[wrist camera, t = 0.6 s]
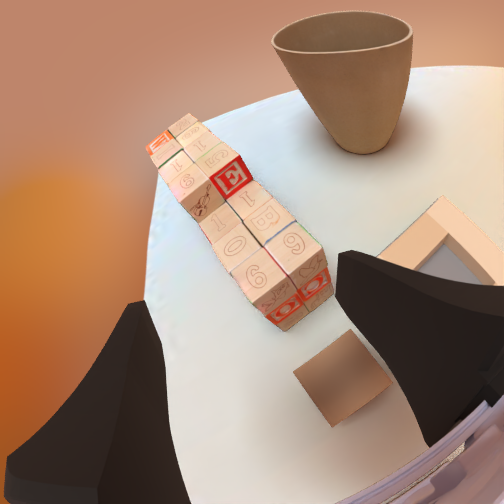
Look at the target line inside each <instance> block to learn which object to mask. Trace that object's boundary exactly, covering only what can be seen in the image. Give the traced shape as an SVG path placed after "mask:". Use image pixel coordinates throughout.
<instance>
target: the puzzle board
mask: <svg viewBox="0 0 504 504" xmlns="http://www.w3.org/2000/svg"><path fill="white" fill-rule="evenodd" d="M376 257H377V258H380V259H383V260H386V261H388V262H391V263H394V264H397V265H400V266H403V267H406V268H409V269H412V270H415V271H418V272H421V273H425V274H428V275H432V276H435V277H440V278H444V279H448V280H453V281H458V282H465V283H472V284H480V285H495V286H504V253H503V252H502V251H501V249H500V248H499V247H498V246H497V245H496V244H495V243H494V242H493V241H492V240H491V239H490V238H489V237H488V236H487V235H486V234H485V233H484V232H483V231H482V230H481V229H480V228H479V227H478V226H477V225H476V224H475V223H474V222H473V221H472V220H471V219H469V218H468V217H467V216H466V215H465V214H464V213H463V212H462V211H461V210H460V209H458V208H457V207H456V206H455V205H454V204H453V203H452V202H450V201H449V200H448V199H447V198H446V197H444V196H443V195H442V196H441V197H440V198H439V199H437V200H436V201H435V202H434V203H433V204H432V205H431V206H430V207H429V208H428V209H427V210H426V211H425V212H424V213H423V214H422V215H421V216H420V217H419V218H418V219H417V220H415V221H414V222H413V223H412V224H411V225H410V226H409V227H408V228H407V229H406V230H405V231H404V232H403V233H402V234H401V235H400V236H398V237H397V238H396V239H395V240H394V241H393V242H392V243H391V244H390V245H389V246H387V247H386V248H385V249H384V250H383V251H382V252H381V253H380V254H378V255H377V256H376Z"/></svg>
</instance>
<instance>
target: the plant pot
mask: <svg viewBox="0 0 504 504" xmlns="http://www.w3.org/2000/svg"><path fill="white" fill-rule="evenodd" d="M271 43H272V45H273V47H274V49H275V50H276V52H277V54H278V55H279V57H280V58H281V60H282V62H283V63H284V65H285V67H286V69H287V70H288V72H289V74H290V76H291V77H292V79H293V80H294V82H295V84H296V85H297V87H298V88H299V90H300V92H301V93H302V95H303V96H304V98H305V99H306V101H307V102H308V104H309V105H310V107H311V108H312V110H313V111H314V113H315V114H316V115H317V117H318V118H319V120H320V121H321V122H322V124H323V125H324V126H325V128H326V129H327V130H328V132H329V133H330V134H331V136H332V137H333V138H334V139H335V141H336V142H337V143H338V144H339V145H340V146H341V147H342V148H343V149H345V150H347V151H349V152H353V153H358V154H368V153H373V152H376V151H378V150H380V149H382V148H383V147H385V145H386V144H387V143H388V141H389V139H390V137H391V135H392V132H393V130H394V128H395V126H396V123H397V121H398V118H399V115H400V112H401V109H402V106H403V103H404V99H405V95H406V91H407V86H408V81H409V75H410V68H411V59H412V44H413V29H412V27H411V26H410V25H409V24H408V23H406V22H405V21H403V20H401V19H399V18H396V17H394V16H391V15H386V14H382V13H377V12H369V11H340V12H331V13H325V14H319V15H315V16H310V17H307V18H304V19H301V20H298V21H295V22H293V23H291V24H289V25H287V26H285V27H283V28H282V29H280V30H279V31H278V32H277V33H275V35H274V36H273V37H272V40H271Z"/></svg>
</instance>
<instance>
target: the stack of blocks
mask: <svg viewBox="0 0 504 504" xmlns="http://www.w3.org/2000/svg"><path fill="white" fill-rule="evenodd" d="M146 149H147V151H148V153H149V155H150V156H151V159H152V160H153V162H154V164H155V165H156V166H157V168H158V169H159V170H158V171H159V173H160V175H161V176H162V178H163V180H164V181H165V183H166V184H167V185H168V187H169V188H170V190H171V191H172V193H173V194H174V196H175V198H176V199H177V201H178V202H179V203H180V204H181V205H182V206H183V207H184V209H185V210H186V211H187V212H188V213H189V214H190V215H191V216H192V217H193V218H194V220H195V221H196V222H197V223H198V224H199V226H200V227H201V229H202V231H203V232H204V234H205V235H206V237H207V238H208V240H209V242H210V243H211V245H212V248H213V250H214V252H215V253H216V255H217V256H218V258H219V260H220V261H221V263H222V264H223V266H224V267H225V269H226V270H227V272H228V273H229V274H230V275H231V276H232V277H233V278H234V279H235V281H236V282H237V284H238V285H239V287H240V288H241V290H242V291H243V293H244V294H245V296H246V297H247V299H248V300H249V302H250V303H251V304H252V305H253V306H255V307H256V308H257V309H258V310H260V311H261V312H262V313H263V315H264V316H265V317H266V318H267V319H268V320H269V321H271V322H272V323H273V324H275V325H276V326H277V327H279V328H280V329H282V330H283V331H284V332H285V331H286V330H288V329H289V328H290V327H292V326H293V325H294V324H295V323H297V322H298V321H299V320H301V319H302V318H303V317H305V316H306V315H307V314H308V313H309V312H311V311H313V310H314V309H315V308H317V307H318V306H319V305H320V304H322V303H323V302H324V301H325V300H327V299H328V298H329V297H330V296H331V295H332V294H333V293H334V290H333V286H332V283H331V278H330V275H329V271H328V268H327V265H328V263H327V260H326V256H325V253H324V250H323V247H322V246H321V245H320V244H319V243H318V242H317V241H316V240H315V239H314V238H313V237H312V236H311V235H310V234H309V233H308V232H307V231H306V230H305V229H304V228H303V227H302V226H301V225H300V224H299V223H298V222H297V221H296V219H295V218H294V217H293V216H292V215H291V214H290V213H289V212H288V211H287V210H286V209H285V208H284V207H283V206H282V205H281V204H280V203H278V202H277V201H276V200H275V199H274V198H273V197H272V196H271V194H269V193H268V192H267V191H266V190H265V189H264V188H263V187H262V186H261V185H260V184H258V183H257V182H256V181H254V180H253V177H252V175H251V173H250V172H249V170H248V168H247V166H246V165H245V163H244V161H243V160H242V158H241V156H240V155H239V154H238V153H237V152H236V151H234V150H233V149H232V148H231V147H229V146H228V145H227V144H226V143H225V142H222V141H221V140H220V139H219V138H217V137H216V136H215V135H214V134H212V133H211V131H210V130H209V129H208V128H207V127H205V126H204V125H203V124H202V123H201V122H199V121H198V119H196V118H195V117H194V116H193V115H192V114H190V113H189V114H187V115H186V116H184V117H183V118H182V119H180V120H179V121H177V122H176V123H174V124H173V125H172V126H170V127H169V128H168V130H166V131H164V132H163V133H162V134H161V135H159V136H158V137H157V138H155V139H154V140H153V141H152V142H150V143H149V144H148V145H147V146H146Z"/></svg>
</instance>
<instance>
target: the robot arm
mask: <svg viewBox="0 0 504 504" xmlns="http://www.w3.org/2000/svg"><path fill="white" fill-rule="evenodd" d="M335 297H336V299H337V301H338V302H339V304H340V306H341V307H342V309H343V310H344V312H345V313H346V315H347V316H348V318H349V319H350V320H351V321H352V322H353V324H354V325H355V326H356V327H357V328H358V330H359V331H360V332H361V333H362V334H363V335H364V337H365V338H366V339H367V340H368V341H369V342H370V344H371V345H372V346H373V347H374V348H375V350H376V351H377V352H378V353H379V354H380V356H381V357H382V358H383V360H384V361H385V362H386V364H387V366H388V367H389V369H390V370H391V372H392V373H393V375H394V377H395V378H396V380H397V382H398V383H399V385H400V387H401V389H402V391H403V392H404V394H405V396H406V398H407V400H408V402H409V404H410V406H411V408H412V410H413V412H414V414H415V417H416V419H417V422H418V424H419V427H420V429H421V432H422V434H423V437H424V440H425V442H426V444H427V445H428V446H429V449H428V450H426V451H425V452H424V453H422V454H421V455H419V456H418V457H417V458H415V459H414V460H412V461H411V462H409V463H408V464H406V465H405V466H403V467H402V468H400V469H399V470H397V471H395V472H394V473H392V474H391V475H389V476H387V477H386V478H384V479H382V480H380V481H379V482H377V483H375V484H373V485H372V486H370V487H368V488H366V489H364V490H362V491H360V492H358V493H356V494H354V495H352V496H350V497H348V498H346V499H344V500H342V501H340V502H337V503H335V504H380V503H382V502H383V501H385V500H387V499H388V498H390V497H392V496H393V495H395V494H397V493H398V492H400V491H401V490H403V489H404V488H406V487H407V486H409V485H410V484H412V483H413V482H415V481H416V480H418V479H419V478H420V477H422V476H423V475H425V474H426V473H427V472H429V471H430V470H431V469H433V468H434V467H435V466H436V465H438V464H439V463H440V462H441V461H443V460H444V459H445V458H446V457H448V456H449V455H450V454H451V453H452V452H453V451H455V450H456V449H457V448H458V447H459V446H460V445H461V444H462V443H464V442H465V444H464V446H465V448H464V451H463V452H462V453H460V454H459V455H458V456H457V457H456V458H454V459H453V460H452V461H451V462H446V463H444V464H443V465H442V466H441V467H440V468H438V469H437V470H436V471H435V472H433V473H432V474H431V475H429V476H428V477H427V478H425V479H424V480H423V481H421V482H420V483H419V484H417V485H416V486H414V487H413V488H412V489H410V490H409V491H407V492H406V493H404V494H403V495H401V496H400V497H398V498H397V499H395V500H393V501H392V502H390V503H388V504H504V286H495V285H480V284H472V283H465V282H458V281H453V280H448V279H444V278H440V277H435V276H432V275H428V274H425V273H421V272H418V271H415V270H412V269H409V268H406V267H403V266H400V265H397V264H394V263H391V262H388V261H386V260H383V259H380V258H377V257H374V256H371V255H368V254H365V253H362V252H358V251H354V250H350V251H346V252H342V253H338V267H337V281H336V293H335ZM4 497H5V499H6V500H7V501H8V502H9V503H10V504H191V502H190V499H189V496H188V493H187V490H186V487H185V484H184V481H183V478H182V475H181V471H180V468H179V464H178V461H177V457H176V453H175V449H174V445H173V440H172V436H171V431H170V424H169V414H168V401H167V385H166V368H165V361H164V355H163V349H162V343H161V341H160V338H159V336H158V333H157V331H156V328H155V326H154V323H153V321H152V318H151V316H150V313H149V310H148V308H147V305H146V302H145V300H143V301H139V302H134V303H130V304H128V305H127V307H126V308H125V310H124V312H123V313H122V316H121V317H120V319H119V321H118V323H117V324H116V326H115V328H114V330H113V332H112V333H111V335H110V337H109V339H108V341H107V343H106V344H105V346H104V348H103V349H102V351H101V353H100V354H99V355H98V357H97V359H96V361H95V362H94V364H93V365H92V367H91V368H90V370H89V371H88V373H87V374H86V376H85V377H84V379H83V380H82V381H81V382H80V384H79V385H78V387H77V388H76V389H75V391H74V392H73V393H72V394H71V396H70V397H69V398H68V399H67V400H66V401H65V403H64V404H63V405H62V406H61V407H60V408H59V410H58V411H57V412H56V413H55V414H54V415H53V416H52V418H50V420H49V421H48V422H47V423H46V424H45V425H44V426H43V427H42V428H41V429H40V430H39V431H37V432H36V433H35V434H34V435H33V436H32V437H31V438H30V439H29V440H28V441H26V442H25V443H24V444H23V445H21V446H20V447H19V448H18V449H16V450H15V451H14V452H13V453H12V454H10V455H9V456H8V457H7V462H6V472H5V485H4Z"/></svg>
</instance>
